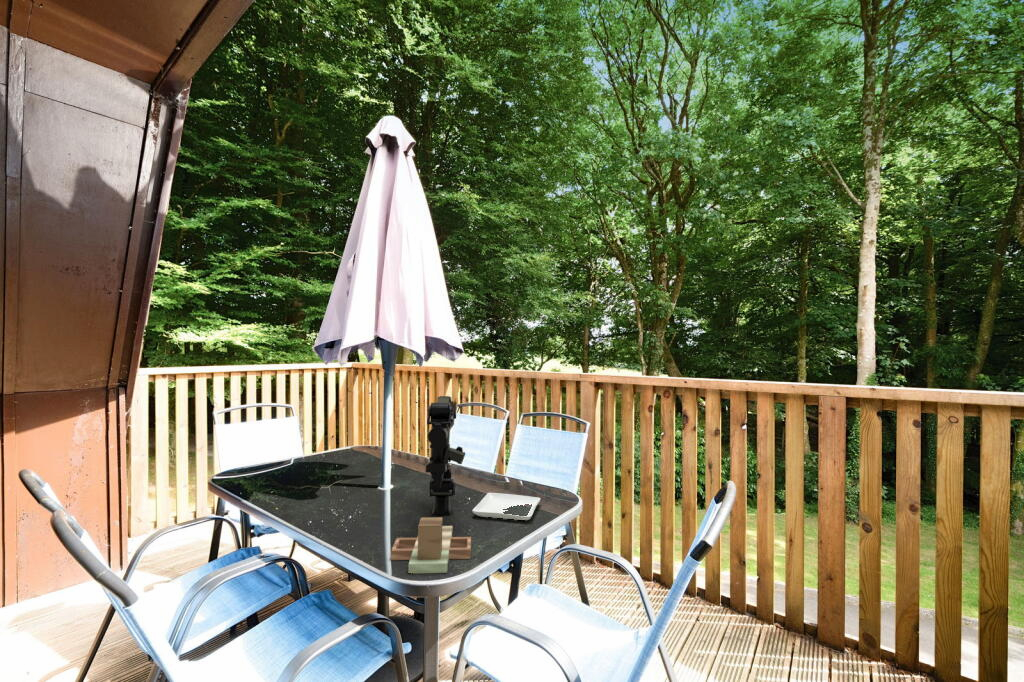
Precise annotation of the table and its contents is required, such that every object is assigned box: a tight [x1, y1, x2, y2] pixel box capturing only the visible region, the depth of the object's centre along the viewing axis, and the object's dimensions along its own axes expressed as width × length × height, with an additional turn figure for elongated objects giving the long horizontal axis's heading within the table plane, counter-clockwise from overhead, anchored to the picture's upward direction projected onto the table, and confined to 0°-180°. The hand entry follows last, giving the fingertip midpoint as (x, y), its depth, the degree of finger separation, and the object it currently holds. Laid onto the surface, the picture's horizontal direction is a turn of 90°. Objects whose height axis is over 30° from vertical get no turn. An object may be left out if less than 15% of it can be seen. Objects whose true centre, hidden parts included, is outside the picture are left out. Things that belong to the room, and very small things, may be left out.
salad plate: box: [472, 492, 541, 521], centre depth 169 cm, size 21×21×3 cm
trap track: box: [390, 525, 472, 574], centre depth 134 cm, size 26×22×2 cm
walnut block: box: [417, 516, 443, 560], centre depth 126 cm, size 6×6×9 cm
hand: (438, 488), depth 152 cm, fingers closed
